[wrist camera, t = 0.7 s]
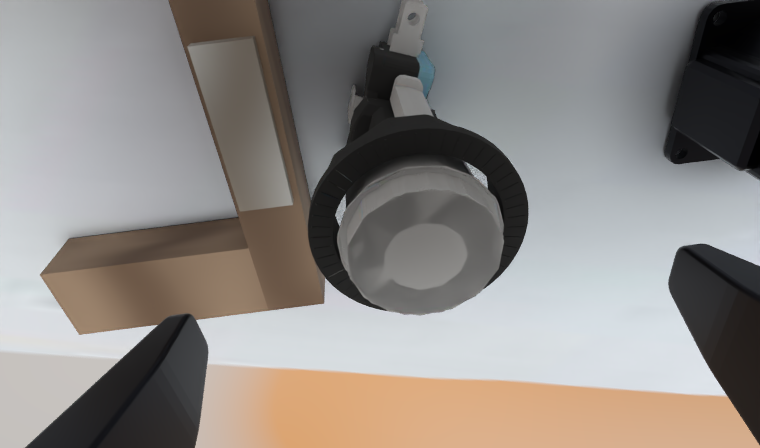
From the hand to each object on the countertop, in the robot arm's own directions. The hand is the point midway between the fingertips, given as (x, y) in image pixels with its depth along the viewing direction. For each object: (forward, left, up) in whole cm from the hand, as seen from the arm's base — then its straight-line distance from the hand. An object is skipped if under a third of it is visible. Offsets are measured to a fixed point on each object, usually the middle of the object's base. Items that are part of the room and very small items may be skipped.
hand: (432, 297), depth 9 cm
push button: (0, 0, -12) cm, 12 cm away
